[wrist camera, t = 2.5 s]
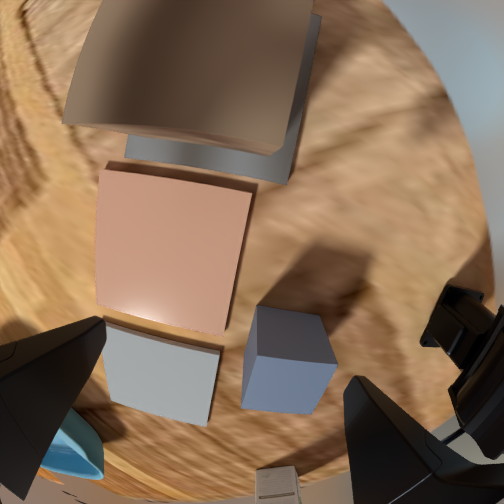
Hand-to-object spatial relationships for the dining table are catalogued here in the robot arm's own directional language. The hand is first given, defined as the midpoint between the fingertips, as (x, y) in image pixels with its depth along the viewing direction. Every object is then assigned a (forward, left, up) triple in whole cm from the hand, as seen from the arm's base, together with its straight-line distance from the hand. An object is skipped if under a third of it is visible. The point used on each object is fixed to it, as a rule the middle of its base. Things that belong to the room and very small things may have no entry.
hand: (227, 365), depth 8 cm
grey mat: (+6, +14, -11) cm, 19 cm away
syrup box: (-11, +32, -11) cm, 36 cm away
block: (-4, +6, -11) cm, 13 cm away
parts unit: (+4, -12, -11) cm, 17 cm away
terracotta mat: (+6, +1, -11) cm, 13 cm away
